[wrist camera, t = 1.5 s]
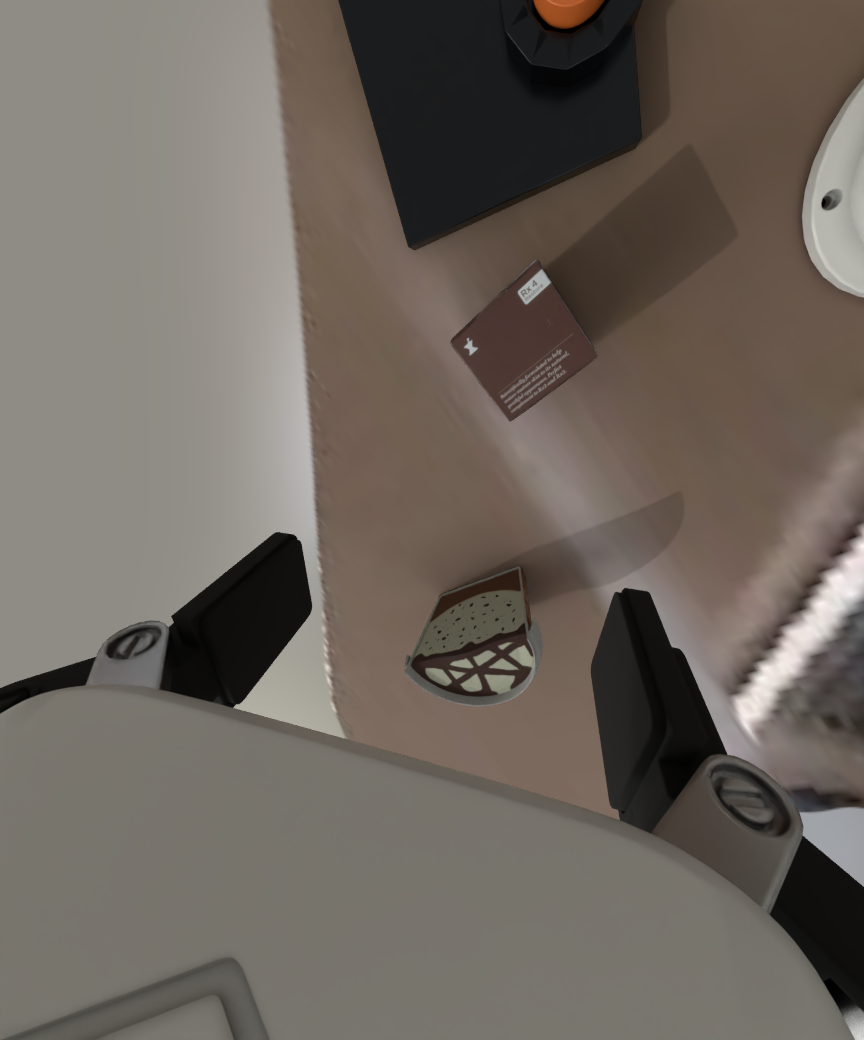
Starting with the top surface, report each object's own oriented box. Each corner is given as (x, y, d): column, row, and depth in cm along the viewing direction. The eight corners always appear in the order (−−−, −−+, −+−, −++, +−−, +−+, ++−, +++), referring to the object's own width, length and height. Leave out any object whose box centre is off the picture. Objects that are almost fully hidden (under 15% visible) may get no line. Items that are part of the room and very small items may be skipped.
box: (513, 403, 29) (507, 425, 23) (466, 337, 28) (446, 342, 22) (585, 348, 26) (601, 356, 20) (536, 272, 25) (537, 256, 19)
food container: (457, 639, 42) (437, 721, 33) (428, 599, 40) (399, 673, 32) (563, 608, 37) (571, 695, 28) (534, 560, 35) (535, 637, 26)
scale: (629, -281, 16) (648, -400, 13) (655, 139, 21) (672, 114, 18) (333, -38, 21) (304, -89, 18) (413, 251, 26) (400, 243, 24)
